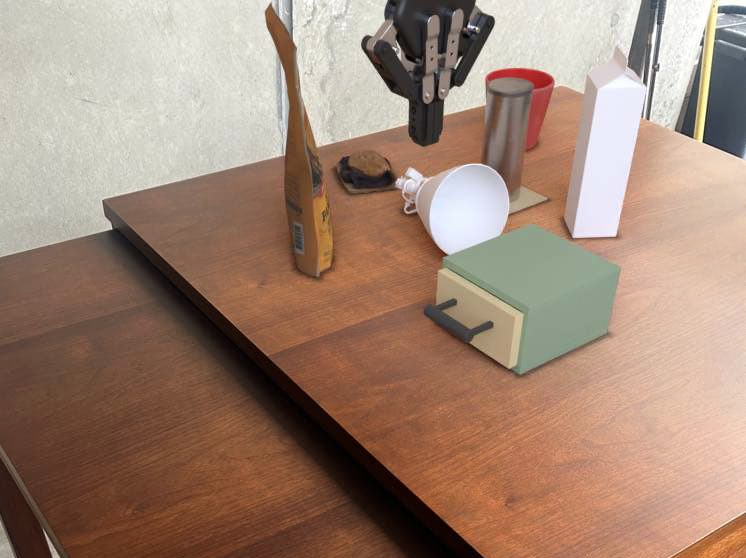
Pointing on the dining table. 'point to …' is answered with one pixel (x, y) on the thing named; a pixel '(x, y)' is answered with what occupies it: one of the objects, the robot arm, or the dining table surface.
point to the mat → (526, 200)
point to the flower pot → (539, 96)
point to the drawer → (477, 317)
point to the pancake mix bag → (302, 167)
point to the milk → (604, 148)
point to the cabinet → (543, 289)
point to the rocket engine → (458, 205)
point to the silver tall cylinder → (507, 130)
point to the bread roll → (365, 172)
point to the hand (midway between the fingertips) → (425, 142)
